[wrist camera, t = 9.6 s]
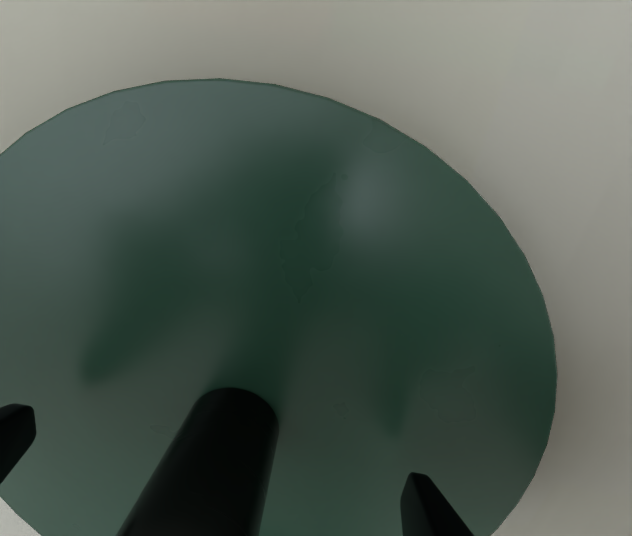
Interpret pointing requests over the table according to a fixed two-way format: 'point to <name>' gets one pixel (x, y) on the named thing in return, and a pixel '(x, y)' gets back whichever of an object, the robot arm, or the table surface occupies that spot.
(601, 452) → the table surface
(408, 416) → the lid
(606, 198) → the table surface
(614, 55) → the table surface
